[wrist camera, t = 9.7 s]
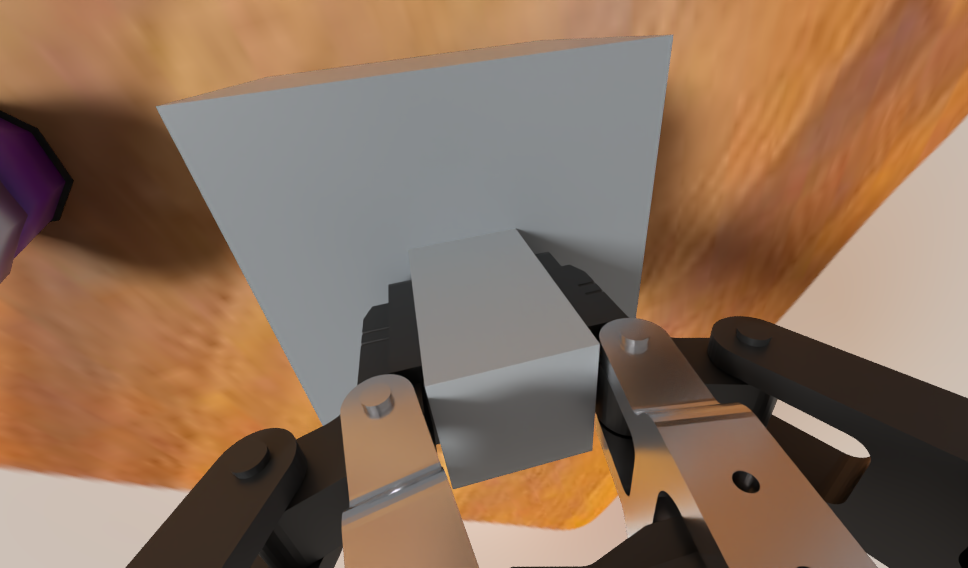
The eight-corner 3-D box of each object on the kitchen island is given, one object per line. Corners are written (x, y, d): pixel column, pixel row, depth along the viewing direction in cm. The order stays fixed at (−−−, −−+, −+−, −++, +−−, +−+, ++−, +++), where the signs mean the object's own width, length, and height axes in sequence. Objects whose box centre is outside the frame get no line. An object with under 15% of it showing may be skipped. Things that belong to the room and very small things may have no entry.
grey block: (267, 76, 15) (-122, 179, 3) (543, 40, 16) (922, 25, 5) (352, 309, 21) (314, 626, 9) (547, 267, 22) (721, 499, 11)
